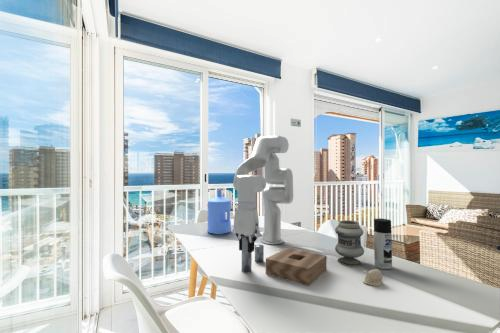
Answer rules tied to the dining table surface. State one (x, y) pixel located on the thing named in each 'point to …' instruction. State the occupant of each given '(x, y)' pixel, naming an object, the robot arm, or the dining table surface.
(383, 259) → the spray can
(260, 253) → the short pin
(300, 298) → the dining table surface
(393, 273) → the dining table surface
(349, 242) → the apothecary jar
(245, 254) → the tall pin
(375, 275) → the decorative ornament
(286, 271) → the hole block
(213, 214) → the water jug
